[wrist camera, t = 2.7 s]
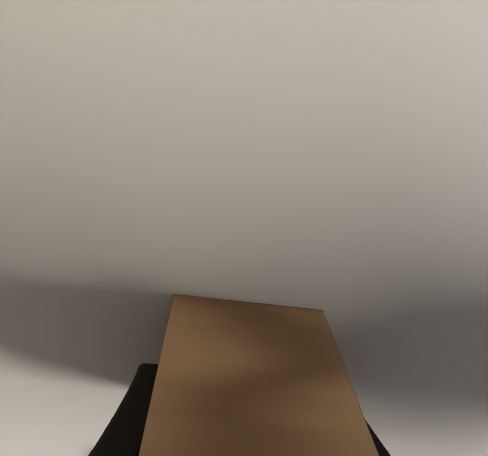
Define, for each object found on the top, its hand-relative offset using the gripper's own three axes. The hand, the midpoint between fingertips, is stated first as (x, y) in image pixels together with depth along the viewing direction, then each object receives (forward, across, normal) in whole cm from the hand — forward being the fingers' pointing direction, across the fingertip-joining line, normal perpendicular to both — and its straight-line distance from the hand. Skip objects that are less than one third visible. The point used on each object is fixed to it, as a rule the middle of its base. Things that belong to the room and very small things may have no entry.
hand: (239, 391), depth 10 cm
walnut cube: (+1, 0, 0) cm, 1 cm away
